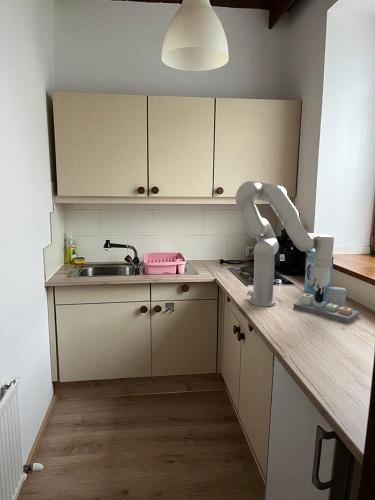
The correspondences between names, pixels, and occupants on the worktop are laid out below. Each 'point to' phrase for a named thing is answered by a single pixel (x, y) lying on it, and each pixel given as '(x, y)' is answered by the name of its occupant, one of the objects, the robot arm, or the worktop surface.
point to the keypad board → (326, 312)
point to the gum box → (309, 273)
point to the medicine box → (336, 296)
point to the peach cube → (345, 310)
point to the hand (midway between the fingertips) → (319, 301)
